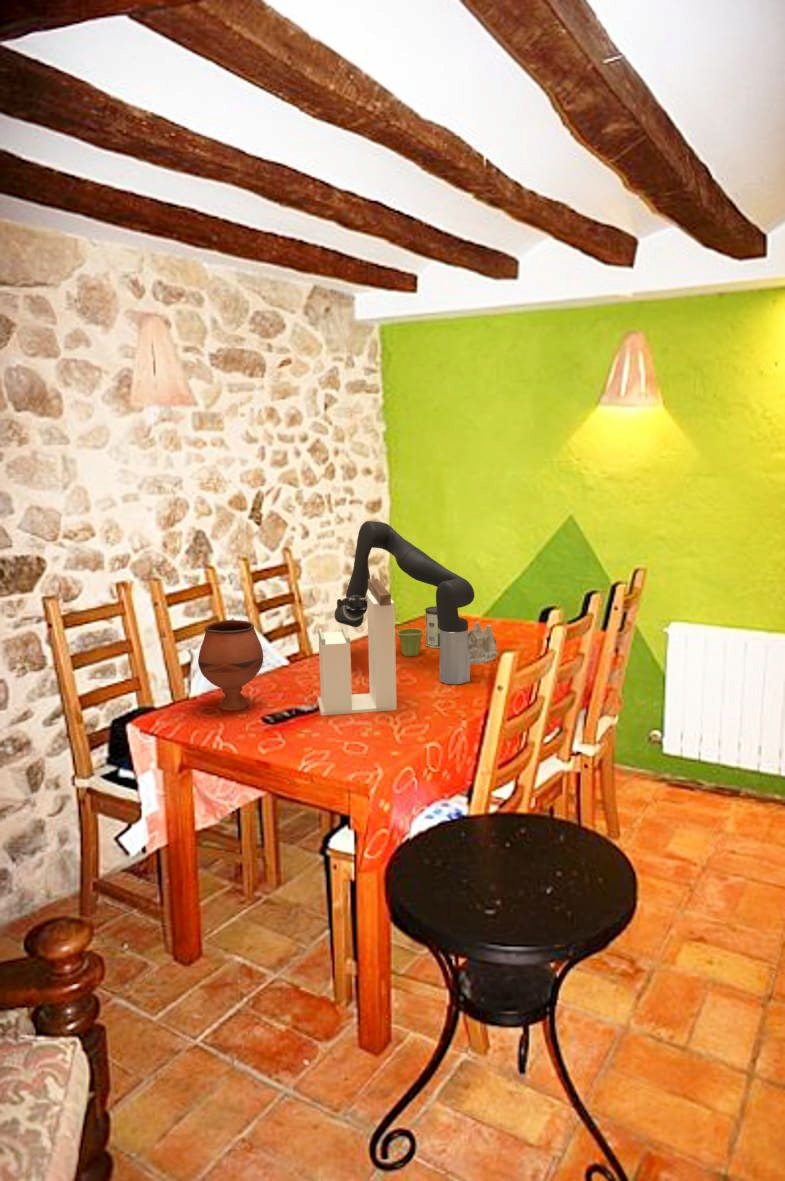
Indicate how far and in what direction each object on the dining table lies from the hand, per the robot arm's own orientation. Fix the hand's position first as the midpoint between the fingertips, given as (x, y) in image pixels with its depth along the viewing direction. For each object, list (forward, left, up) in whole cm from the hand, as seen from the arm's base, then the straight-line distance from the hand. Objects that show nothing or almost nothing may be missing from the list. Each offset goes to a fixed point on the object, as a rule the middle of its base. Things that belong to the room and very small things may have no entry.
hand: (361, 599), depth 259 cm
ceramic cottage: (-42, -17, -27) cm, 53 cm away
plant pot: (-21, -26, -27) cm, 43 cm away
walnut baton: (-3, +22, +5) cm, 22 cm away
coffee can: (-34, -37, -27) cm, 57 cm away
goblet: (+41, +18, -27) cm, 52 cm away
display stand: (+5, +25, -27) cm, 37 cm away
